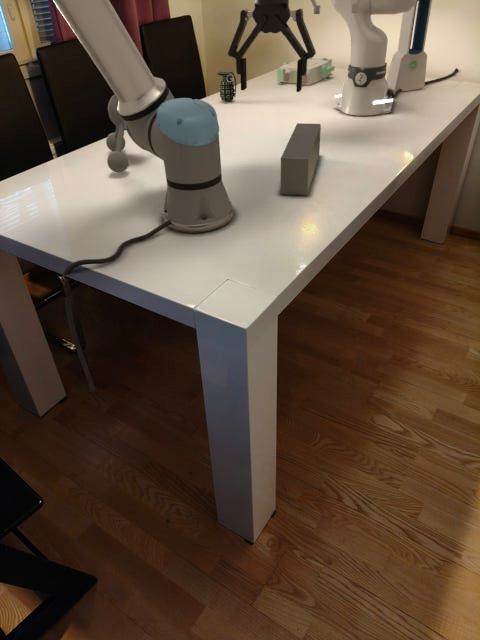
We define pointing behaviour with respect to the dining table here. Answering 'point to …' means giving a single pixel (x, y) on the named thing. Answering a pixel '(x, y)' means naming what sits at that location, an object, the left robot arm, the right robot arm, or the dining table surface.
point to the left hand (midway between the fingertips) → (271, 90)
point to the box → (300, 159)
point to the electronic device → (411, 50)
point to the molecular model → (116, 139)
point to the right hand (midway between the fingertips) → (335, 13)
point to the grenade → (227, 86)
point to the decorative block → (315, 71)
